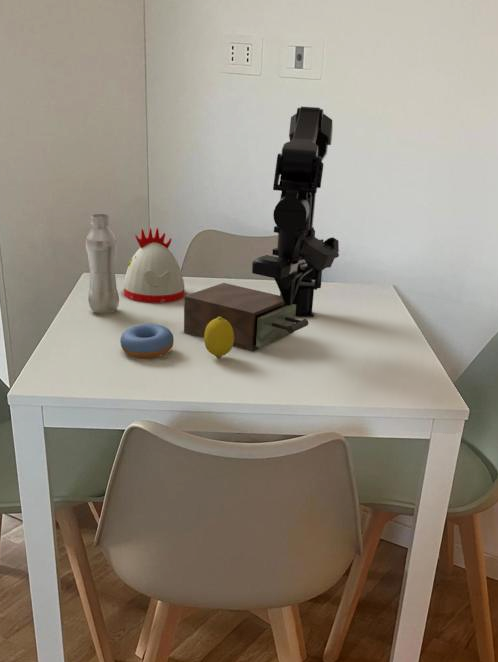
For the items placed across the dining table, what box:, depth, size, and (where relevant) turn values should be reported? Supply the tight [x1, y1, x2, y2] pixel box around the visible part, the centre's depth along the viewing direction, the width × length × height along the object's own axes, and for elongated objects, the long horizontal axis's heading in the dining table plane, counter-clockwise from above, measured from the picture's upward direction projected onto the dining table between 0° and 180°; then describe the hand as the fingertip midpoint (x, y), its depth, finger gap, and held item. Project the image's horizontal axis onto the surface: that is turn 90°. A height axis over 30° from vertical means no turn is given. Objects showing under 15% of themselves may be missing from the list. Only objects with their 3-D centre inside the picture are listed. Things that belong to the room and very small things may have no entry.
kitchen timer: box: [123, 227, 186, 304], centre depth 183 cm, size 14×14×15 cm
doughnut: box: [119, 323, 175, 359], centre depth 151 cm, size 10×10×5 cm
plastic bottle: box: [85, 213, 120, 314], centre depth 168 cm, size 6×7×20 cm
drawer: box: [254, 304, 309, 349], centre depth 160 cm, size 20×12×6 cm, turn 56°
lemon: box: [203, 317, 234, 359], centre depth 149 cm, size 6×6×8 cm
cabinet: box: [183, 282, 287, 352], centre depth 162 cm, size 17×14×8 cm
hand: (288, 304), depth 155 cm, fingers closed
